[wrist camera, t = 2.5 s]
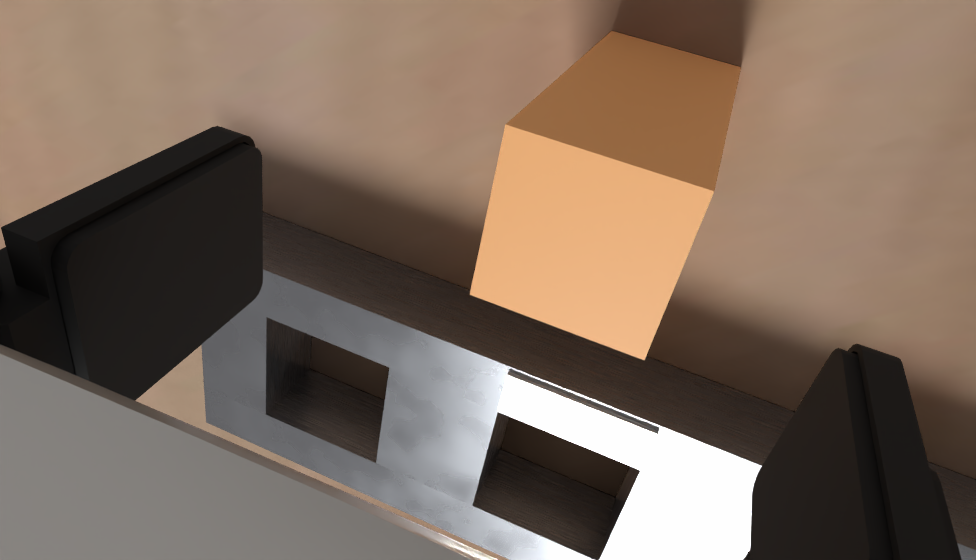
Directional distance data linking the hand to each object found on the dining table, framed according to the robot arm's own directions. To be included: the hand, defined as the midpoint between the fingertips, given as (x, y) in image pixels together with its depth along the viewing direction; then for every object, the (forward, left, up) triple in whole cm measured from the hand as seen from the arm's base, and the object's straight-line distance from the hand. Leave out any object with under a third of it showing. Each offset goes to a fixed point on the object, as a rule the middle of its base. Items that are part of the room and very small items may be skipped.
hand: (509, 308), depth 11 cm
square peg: (0, 0, -13) cm, 13 cm away
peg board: (-1, +14, -13) cm, 20 cm away
